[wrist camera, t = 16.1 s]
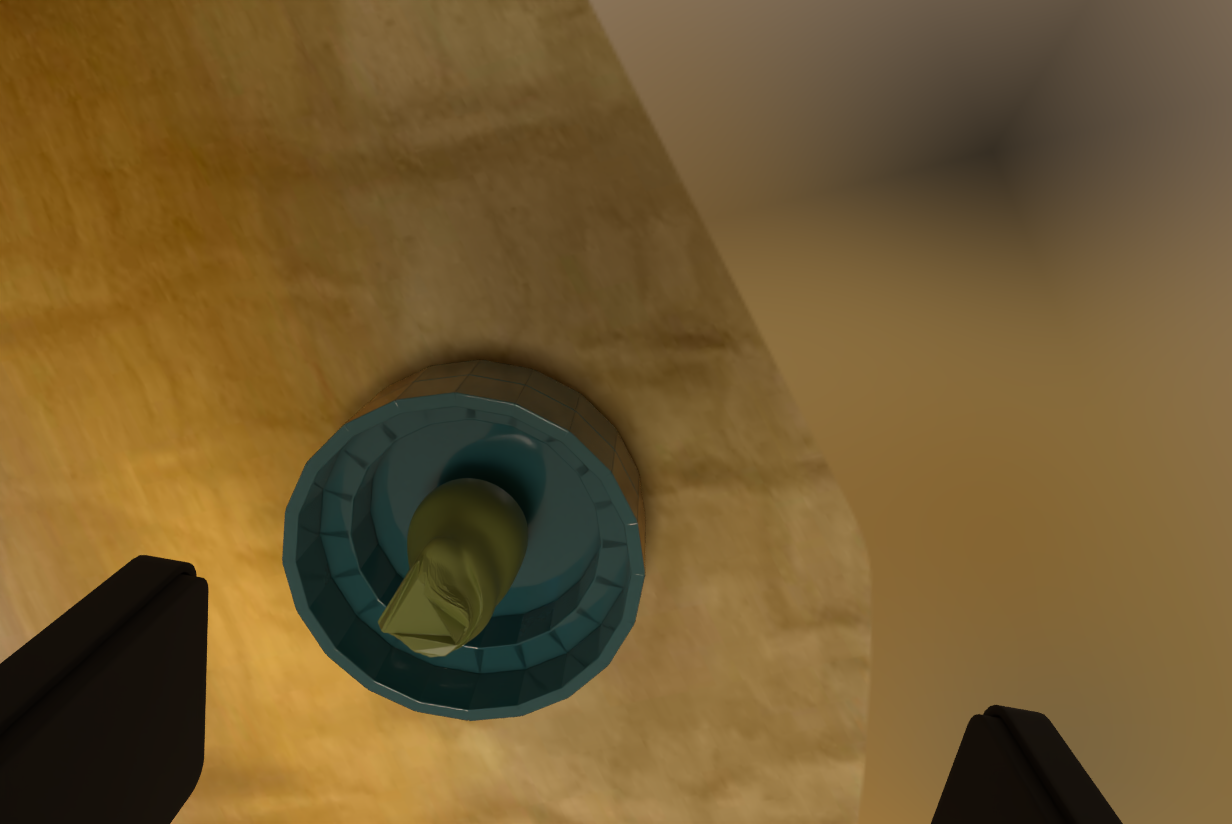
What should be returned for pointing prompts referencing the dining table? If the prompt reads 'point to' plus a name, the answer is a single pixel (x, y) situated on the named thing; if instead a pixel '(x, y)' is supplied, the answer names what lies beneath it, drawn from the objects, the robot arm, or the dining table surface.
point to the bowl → (555, 557)
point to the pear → (456, 566)
